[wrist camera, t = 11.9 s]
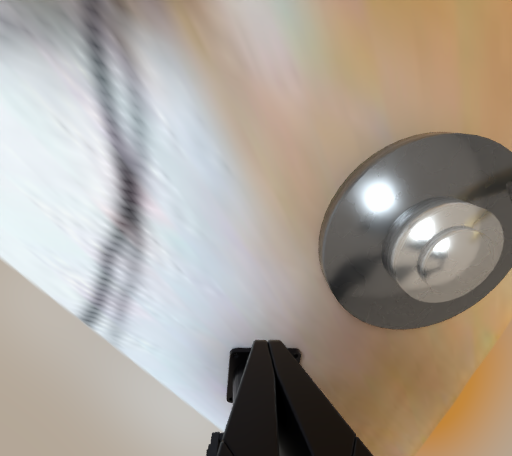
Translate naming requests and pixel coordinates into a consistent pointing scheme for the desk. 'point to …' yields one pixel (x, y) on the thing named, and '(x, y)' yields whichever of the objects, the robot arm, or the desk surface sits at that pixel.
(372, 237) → the turntable
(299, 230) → the desk surface
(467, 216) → the cover
